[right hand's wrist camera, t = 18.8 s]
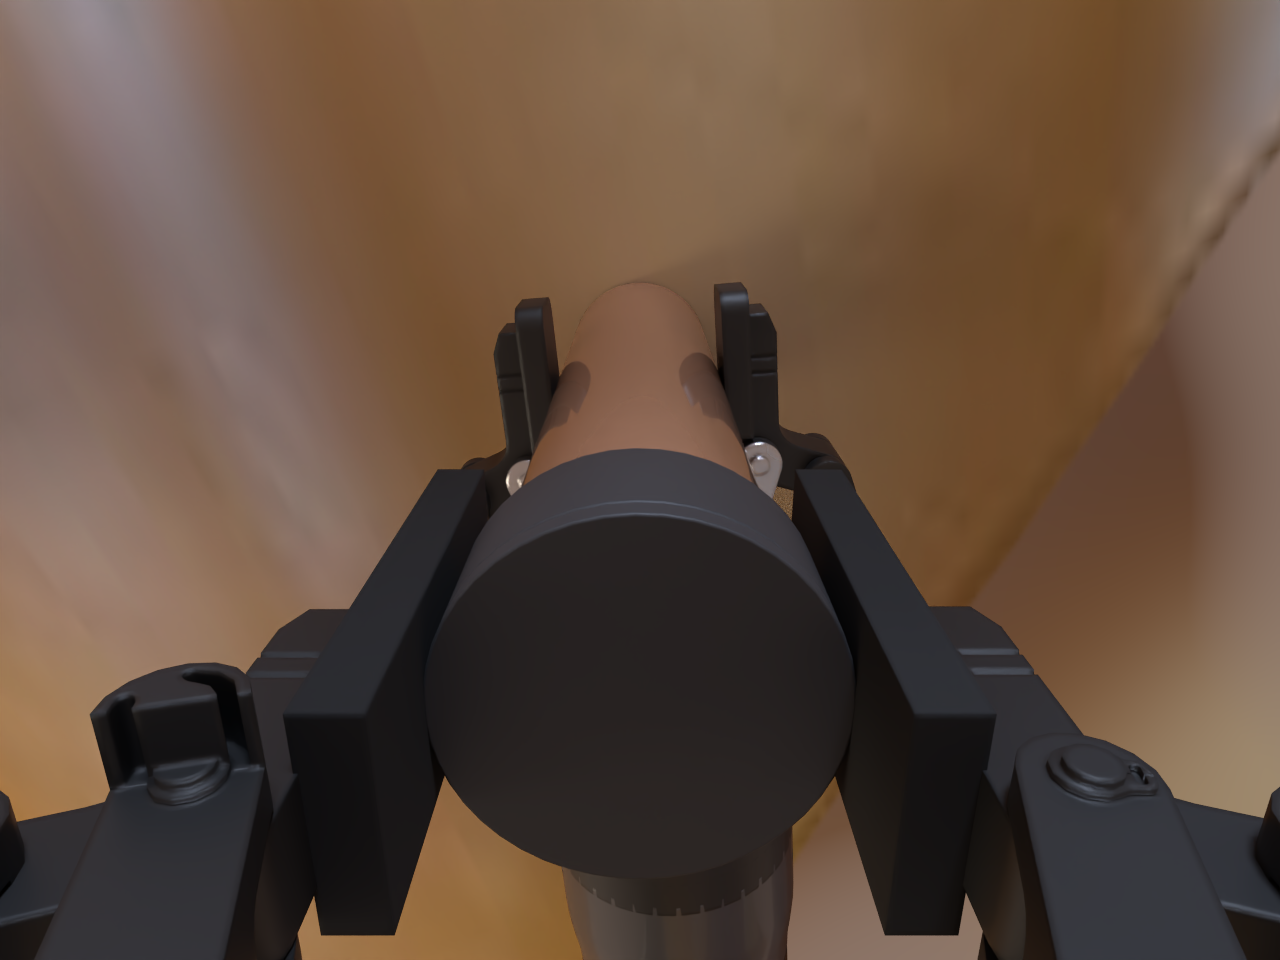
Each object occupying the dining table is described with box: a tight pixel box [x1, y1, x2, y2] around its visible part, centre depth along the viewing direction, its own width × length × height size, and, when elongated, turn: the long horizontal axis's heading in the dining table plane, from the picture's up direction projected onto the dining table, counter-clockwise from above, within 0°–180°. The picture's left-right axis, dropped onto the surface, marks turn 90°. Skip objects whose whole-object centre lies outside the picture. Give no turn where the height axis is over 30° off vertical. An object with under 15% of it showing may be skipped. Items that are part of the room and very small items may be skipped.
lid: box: [424, 448, 856, 879], centre depth 11 cm, size 5×5×2 cm
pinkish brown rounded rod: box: [520, 283, 759, 488], centre depth 20 cm, size 4×4×19 cm
